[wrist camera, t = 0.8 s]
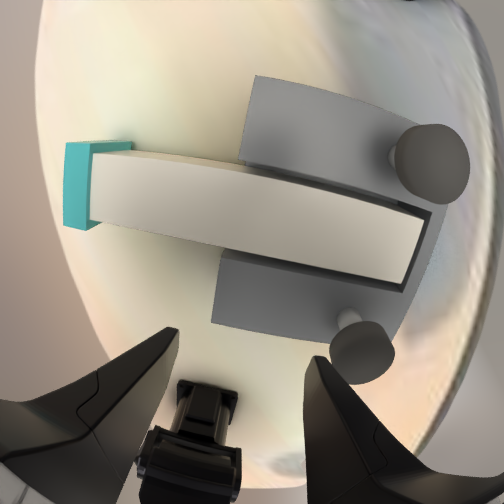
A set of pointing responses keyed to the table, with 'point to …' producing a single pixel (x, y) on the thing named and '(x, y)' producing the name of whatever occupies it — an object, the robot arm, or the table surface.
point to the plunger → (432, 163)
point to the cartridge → (237, 209)
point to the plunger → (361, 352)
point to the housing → (332, 173)
